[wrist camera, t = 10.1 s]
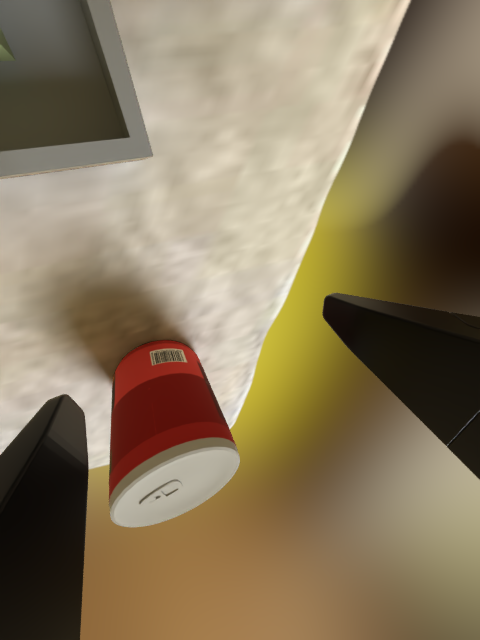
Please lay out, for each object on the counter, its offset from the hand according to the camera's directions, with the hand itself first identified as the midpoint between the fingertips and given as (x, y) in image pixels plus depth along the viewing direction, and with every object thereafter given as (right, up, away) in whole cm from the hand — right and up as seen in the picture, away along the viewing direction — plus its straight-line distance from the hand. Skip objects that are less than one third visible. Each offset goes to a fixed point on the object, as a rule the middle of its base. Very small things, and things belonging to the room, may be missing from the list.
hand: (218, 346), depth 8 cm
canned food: (-7, -4, +15) cm, 17 cm away
